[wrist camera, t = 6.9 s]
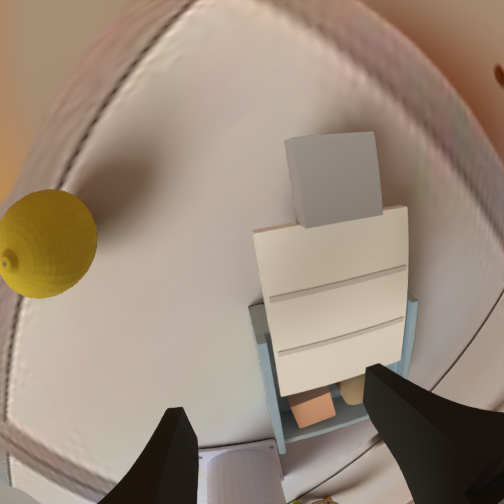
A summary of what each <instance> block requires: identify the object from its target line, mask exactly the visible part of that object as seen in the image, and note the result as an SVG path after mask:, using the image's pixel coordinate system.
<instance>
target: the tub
mask: <svg viewBox="0 0 504 504" xmlns="http://www.w3.org/2000/svg"><path fill="white" fill-rule="evenodd" d="M248 308H249V313H250V318H251V323H252V328H253V333H254V338H255V343H256V348H257V353H258V358H259V363H260V368H261V373H262V378H263V383H264V388H265V393H266V397H267V402H268V407H269V412H270V416H271V421H272V425H273V429H274V433H275V437H276V441H277V446H278V450H279V454H285V453H286V449H285V443H290V442H294V441H298V440H302V439H306V438H310V437H314V436H317V435H321V434H324V433H328V432H331V431H334V430H337V429H341V428H344V427H347V426H350V425H353V424H356V423H358V422H361V421H364V420H367V419H369V418H370V417H369V415H368V413H367V411H366V408H365V406H364V404H363V403H361V404H357V405H349V404H347V403H346V402H345V400H344V399H343V397H342V395H341V393H340V391H339V389H338V387H337V386H336V384H335V383H333V384H329V385H327V387H328V389H329V391H330V394H331V398H332V402H333V405H334V409H335V413H336V415H335V416H332V417H330V418H328V419H325V420H323V421H320V422H317V423H315V424H312V425H309V426H307V427H304V428H301V429H300V428H299V426H298V423H297V421H296V419H295V417H294V414H293V412H292V410H291V408H290V405H289V401H288V398H287V396H283V397H281V395H280V392H279V387H278V381H277V375H276V369H275V363H274V357H273V351H272V345H271V339H270V333H269V327H268V321H267V315H266V309H265V303H264V304H259V305H254V306H249V307H248ZM417 311H418V300H417V299H415V298H414V297H413V296H411V295H410V294H409V293H407V305H406V317H405V327H404V336H403V345H402V352H401V359H400V361H397V362H394V363H392V364H389V365H387V366H385V367H387V368H389V369H390V370H392V371H393V372H395V373H397V374H398V375H400V376H402V377H404V378H405V379H407V377H408V372H409V367H410V361H411V356H412V349H413V343H414V336H415V328H416V320H417Z"/></svg>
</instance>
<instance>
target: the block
mask: <svg viewBox="0 0 504 504" xmlns="http://www.w3.org/2000/svg"><path fill="white" fill-rule="evenodd" d="M287 398H288V401H289V405H290V408H291V410H292V412H293V414H294V417H295V419H296V421H297V423H298V426H299V428H300V429H301V428H304V427H307V426H309V425H312V424H315V423H317V422H320V421H323V420H325V419H328V418H330V417H332V416H335V415H336V413H335V409H334V405H333V402H332V398H331V394H330V391H329V389H328V387H327V385H326V386H322V387H319V388H315V389H311V390H308V391H304V392H300V393H296V394H292V395H287Z"/></svg>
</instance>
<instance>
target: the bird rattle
mask: <svg viewBox="0 0 504 504" xmlns="http://www.w3.org/2000/svg"><path fill="white" fill-rule="evenodd" d="M293 504H300V501H299V500H294V501H293ZM311 504H339V503H337V502H334V501H333V500H332V499H331V498H330V497H329V496H327V497H325V498H324V499H323V500H319V501H316V502H313V503H311Z"/></svg>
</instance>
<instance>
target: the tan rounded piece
mask: <svg viewBox="0 0 504 504" xmlns="http://www.w3.org/2000/svg"><path fill="white" fill-rule="evenodd" d="M364 382H365V373H364V374H361V375H358V376H355V377H352V378H349V379H346V380H343V381H339V382H336V383H335V384H336V386H337V387H338V389H339V391H340V393H341V395H342V397H343V399H344V400H345V402H346V403H347V404H349V405H357V404H361V403H363V393H364Z"/></svg>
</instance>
